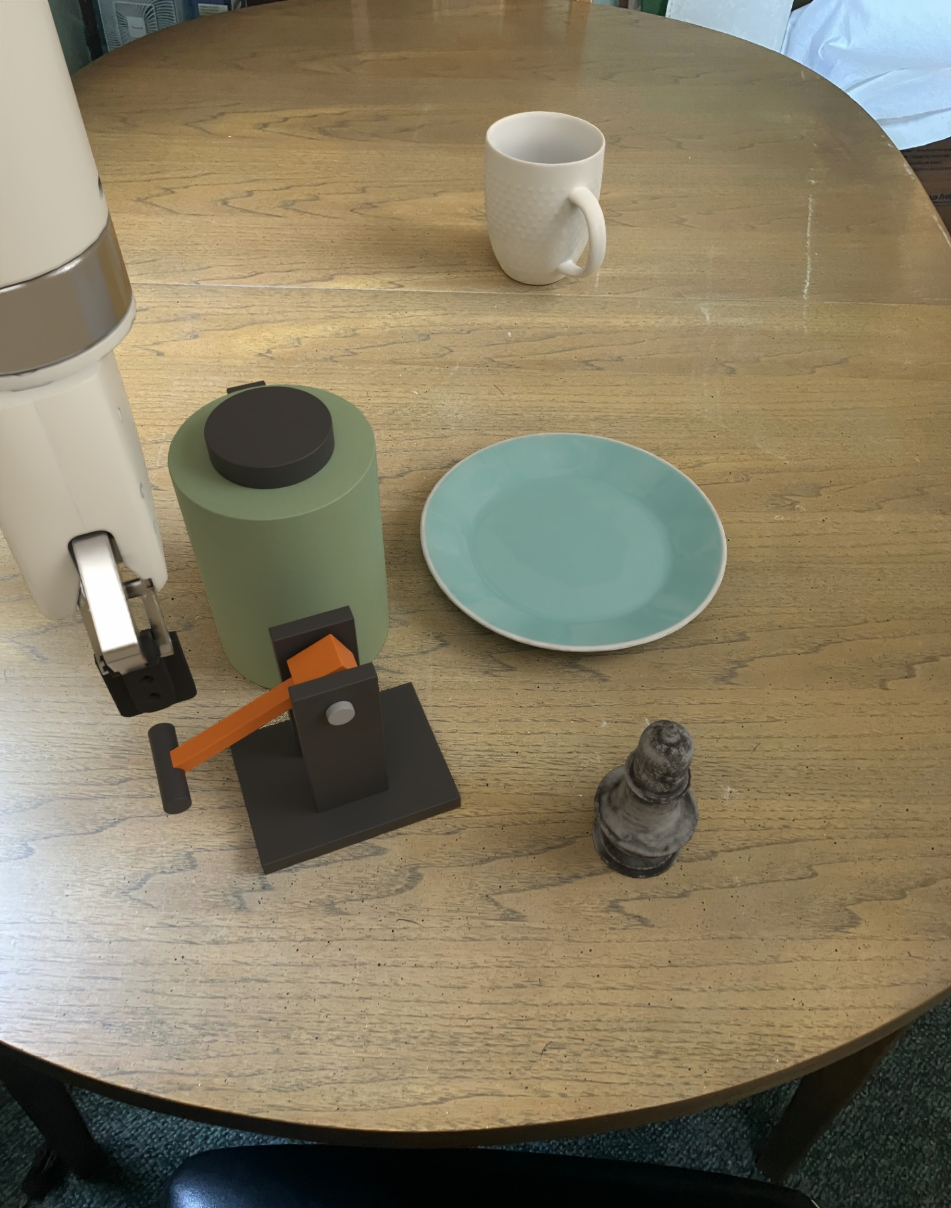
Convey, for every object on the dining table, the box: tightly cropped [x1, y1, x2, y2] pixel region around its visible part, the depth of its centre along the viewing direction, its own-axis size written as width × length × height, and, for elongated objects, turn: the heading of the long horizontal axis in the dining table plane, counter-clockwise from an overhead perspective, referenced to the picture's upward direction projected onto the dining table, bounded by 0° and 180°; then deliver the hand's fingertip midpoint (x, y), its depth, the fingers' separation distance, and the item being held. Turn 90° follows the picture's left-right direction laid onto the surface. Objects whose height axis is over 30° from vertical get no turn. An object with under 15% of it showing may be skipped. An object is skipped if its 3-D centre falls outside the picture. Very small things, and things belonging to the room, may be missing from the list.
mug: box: [483, 110, 607, 286], centre depth 90 cm, size 15×11×13 cm
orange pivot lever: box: [147, 634, 357, 815], centre depth 50 cm, size 12×5×2 cm, turn 112°
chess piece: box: [591, 719, 700, 879], centre depth 51 cm, size 6×6×12 cm
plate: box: [419, 431, 728, 653], centre depth 69 cm, size 22×22×3 cm
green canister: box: [167, 380, 390, 690], centre depth 60 cm, size 12×13×18 cm
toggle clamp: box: [228, 606, 462, 876], centre depth 53 cm, size 12×9×13 cm
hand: (141, 620), depth 43 cm, fingers open, 9 cm apart
